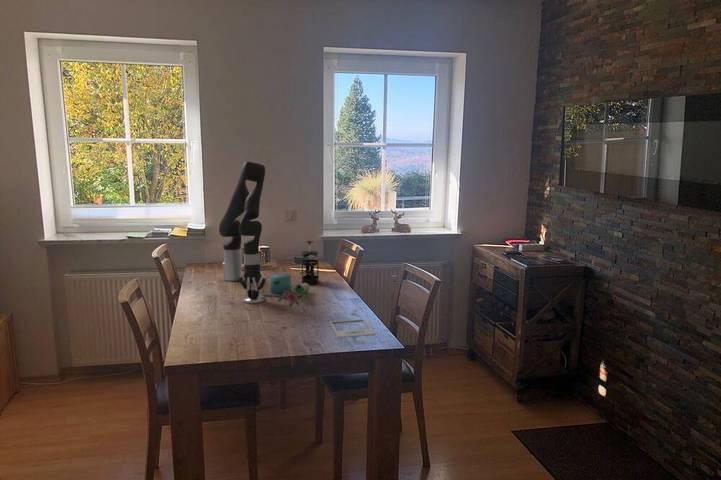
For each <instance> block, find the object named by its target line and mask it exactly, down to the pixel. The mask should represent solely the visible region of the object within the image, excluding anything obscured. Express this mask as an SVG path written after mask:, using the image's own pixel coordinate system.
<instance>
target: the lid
mask: <svg viewBox="0 0 721 480" xmlns="http://www.w3.org/2000/svg"><path fill="white" fill-rule="evenodd" d="M250 294H251V298H249V297H248V295H245V296H242V297H241V302H242V303H244V304H260V303H263V302H265V301H266V296H263V294H262V295H261V294H259V296H258V298H255V288H254V289H253V288H251V290H250Z"/></svg>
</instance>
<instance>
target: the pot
mask: <svg viewBox="0 0 721 480" xmlns="http://www.w3.org/2000/svg"><path fill="white" fill-rule="evenodd" d="M269 281H270V284H269V285H270V288H269V289H268V290H266V291H265V292H264V293H262V296H265V297H269V298H270V297H271V298H283V297H284V298H287V299H288V297H285V295H283V297H281V296H280V295H282V294H283V293H284V291H287V290H289V289H285V286H286V285H287V286H288V287H289V286H292V284H291V282H292V281H291V274H288V273H275V274H271V275H270V277H269ZM293 288H294V287H292V288H291V289H290V290H289V292H290V294H294V295H295V293H293V292H294V291H293V290H292V289H293Z"/></svg>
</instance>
